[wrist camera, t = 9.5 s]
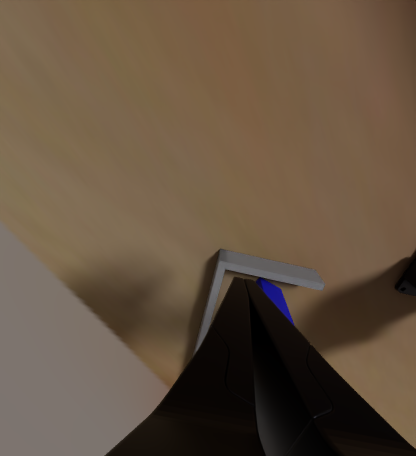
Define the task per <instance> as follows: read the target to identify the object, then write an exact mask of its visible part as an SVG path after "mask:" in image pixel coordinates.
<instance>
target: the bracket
mask: <svg viewBox="0 0 416 456" xmlns="http://www.w3.org/2000/svg"><path fill="white" fill-rule="evenodd" d="M225 269H227V270H231V271H236V272H240V273H245V274H250V275H254V276H259V277H263V278H268V279H272V280H277V281H281V282H286V283H290V284H295V285H299V286H304V287H308V288H313V289H317V290H323V288H324V286H325V283H324V282H323V280H322V279H321V277H320V276H319V275H318V273H317V272H316V270H313V269H309V268H304V267H300V266H295V265H291V264H286V263H282V262H277V261H273V260H268V259H264V258H259V257H255V256H250V255H246V254H241V253H237V252H232V251H228V250H223V249H220V251H219V255H218V259H217V263H216V267H215V271H214V275H213V279H212V282H211V286H210V290H209V294H208V298H207V302H206V306H205V310H204V314H203V318H202V321H201V325H200V329H199V333H198V337H197V341H196V345H195V349H194V353H193V356H194V354H195V353H196V351H197V350H198V348H199V347H200V345H201V343H202V341H203V339H204V338H205V336H206V334H207V332H208V329H209V325H210V322H211V318H212V314H213V311H214V307H215V304H216V300H217V297H218V293H219V290H220V286H221V283H222V279H223V275H224V272H225ZM192 358H193V357H192Z"/></svg>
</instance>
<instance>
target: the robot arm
mask: <svg viewBox="0 0 416 456" xmlns="http://www.w3.org/2000/svg"><path fill="white" fill-rule="evenodd" d="M395 289H396V290H397V291H398V292H400V293H404V294H408V295H413V296H416V258H415V260H414V261H413V263H412V264H411V265H410V267H409V268H408V269H407V271H406V272H405V274H404V275H403V276H402V278H401V279H400V280H399V282H398V283H397V285H396V286H395ZM105 456H416V449H415V448H414V447H413V446H412V445H410V444H409V443H408V442H407V441H406V440H405V439H404V438H403V437H402V436H401V435H400V434H399V433H398V432H397V431H396V430H395V429H394V428H393V427H391V426H390V425H389V424H388V423H387V422H386V421H385V420H384V419H383V418H382V417H381V416H380V415H379V414H378V413H377V412H376V411H375V410H374V409H373V408H372V407H371V406H370V405H369V404H368V403H367V402H366V401H365V400H364V399H363V398H362V397H361V396H360V395H359V394H358V393H357V392H356V391H355V390H354V389H353V388H352V387H351V386H350V385H349V384H348V383H347V382H346V381H345V380H344V379H343V378H342V377H341V376H340V375H339V374H338V373H337V372H336V371H335V370H334V369H333V368H332V367H331V366H330V365H329V363H328V362H327V361H326V360H325V359H324V358H323V357H322V356H321V355H320V354H319V353H318V351H317V350H316V349H315V348H314V347H313V346H312V345H310V343H309V342H308V340H307V339H306V338H305V337H304V336H303V335H302V334H301V333H300V332H299V330H298V329H297V328H296V327H295V326H294V325H293V324H292V323H291V321H290V320H289V319H288V318H287V317H286V316H285V315H284V314H283V313H282V311H281V310H280V309H279V308H278V307H277V306H276V305H275V304H274V302H273V301H272V300H271V299H270V298H269V297H268V296H267V295H266V294H265V292H264V291H263V290H262V289H261V288H260V287H259V286H258V285H257V284H256V282H255V281H254V280H251V279H243V278H240V277H234V278H233V280H232V282H231V284H230V286H229V289H228V291H227V293H226V295H225V297H224V299H223V301H222V303H221V305H220V307H219V309H218V311H217V313H216V315H215V317H214V320H213V322H212V324H211V326H210V328H209V330H208V332H207V334H206V336H205V338H204V339H203V341H202V343H201V345H200V347H199V348H198V350H197V351H196V353H195V354H194V356H193V358H192V359H191V361H190V362H189V363H188V365H187V366H186V368H185V369H184V371H183V372H182V373H181V375H180V376H179V378H178V379H177V381H176V382H175V383H174V385H173V386H172V388H171V389H170V390H169V392H168V393H167V395H166V396H165V397H164V399H163V400H162V401H161V403H160V404H159V405H158V406H157V408H156V409H155V410H154V411H153V412H152V413H151V414H150V415H149V416H148V417H147V418H146V419H145V420H144V421H143V422H142V423H141V424H139V425H138V426H137V427H136V428H135V429H134V430H133V431H132V432H130V433H129V434H128V435H127V436H126V437H125V438H124V439H123V440H122V441H120V442H119V443H118V444H117V445H116V446H115V447H114V448H113V449H112V450H110V451H109V452H108V453H107V454H106V455H105Z"/></svg>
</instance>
